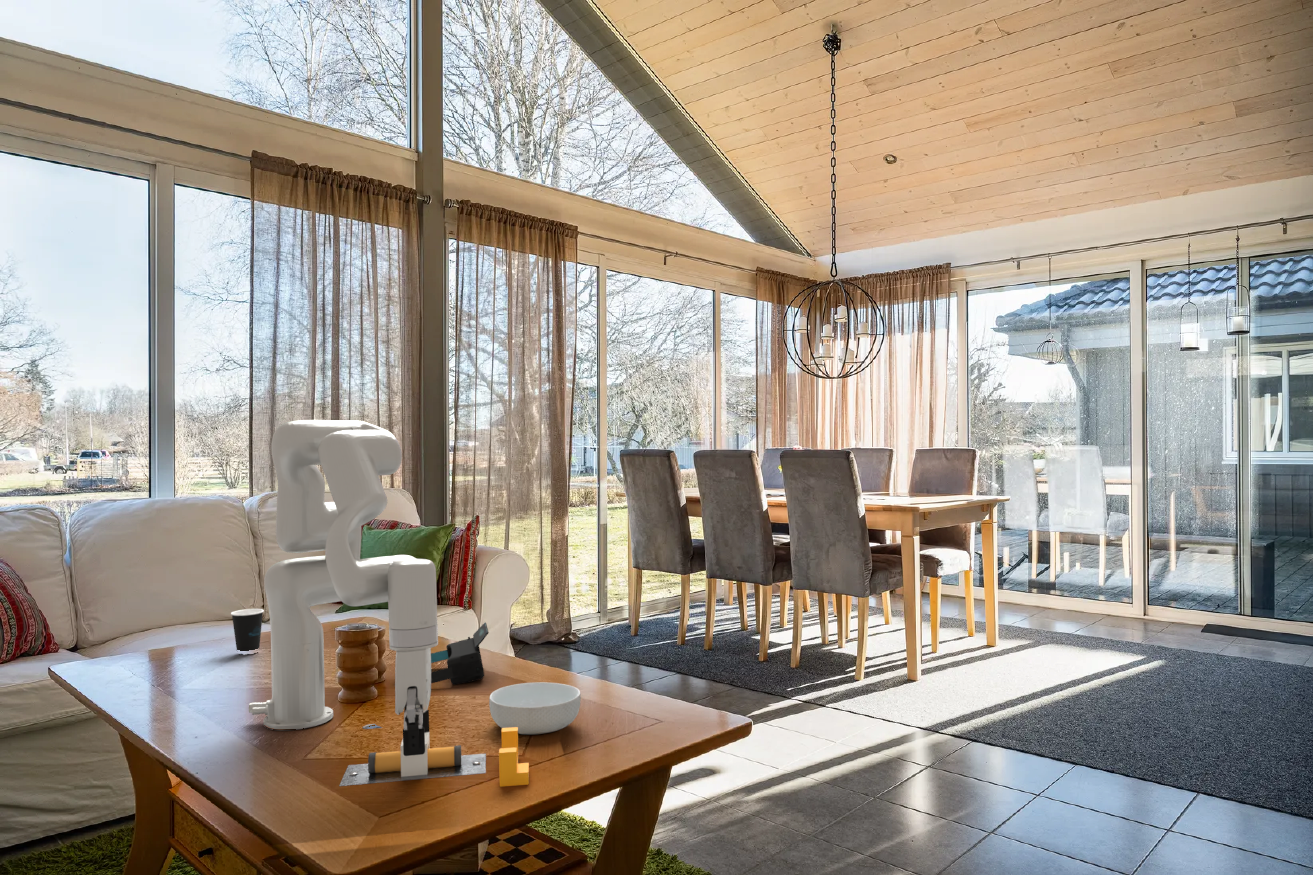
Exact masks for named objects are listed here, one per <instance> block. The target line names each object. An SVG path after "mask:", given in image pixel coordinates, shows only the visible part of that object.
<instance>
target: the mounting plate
mask: <svg viewBox="0 0 1313 875" xmlns="http://www.w3.org/2000/svg"><path fill="white" fill-rule="evenodd" d="M486 761H487V753H475V754H464V755H461V766H450V767H439V768H428V774H427V775H415V776H404V777H401V771H393V772H382V773H370V774H369V772H368V763H359V764H349V765H348V764H347V768H346V770H345V772H344V774H343V776H342V779H341V781H340V782H339V787H346V786H348V787H349V786H353V785H354V786H359V785H368V784H379V783H391V782H402V781H403V782H404V781H412V780H423V779H434V778H435V779H437V778H446V777H458V776H468V775H480V774H481V775H482V774H487V770H486V769H487V766H486V765H487V762H486Z"/></svg>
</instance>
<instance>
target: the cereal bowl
mask: <svg viewBox="0 0 1313 875" xmlns="http://www.w3.org/2000/svg"><path fill="white" fill-rule="evenodd" d="M581 698H582V696H581V691H580V689H579V688H578V687H575V686H573V685H570V684H564V683H558V682H546V681H544V682H543V681H542V682H540V681H539V682H524V683H523V682H522V683H516V684H511V685H507V686H503V687H500V688H498V689H496V690H494V691H492V692H491V693H490V695H489V699H488V700H489V712H490V715H491V718H492V720H493V721H494V722H495V723H496V725H497V726H498V727H500V728H501V729H502V728H510V727H518V735H541V734H548V733H549V734H550V733H553V732H556V731H560V730H562V729H564V728H566V727H568V726H569V725H571V724H572V723H573V722H574V720H575V719H576V718H577V716H578V714H579V711H580V708H581Z"/></svg>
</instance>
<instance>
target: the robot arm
mask: <svg viewBox="0 0 1313 875" xmlns="http://www.w3.org/2000/svg"><path fill="white" fill-rule="evenodd" d="M270 445H271V448H270V450H271V457H272V463H273V465H274V470H275V474H276V478H277V480H276V481H277V496H276V510H275V511H276V513H275V514H276V515H275V516H276V517H275V540H276V544H277V546H278V548H279V549H280V550H281V551H283V552H285V553H290V554H291V553H292V554H293V553H294V554H299V553H300V554H301V553H303V554H304V553H313V552H321V551H323V552H324V553H325V555H318V556H305V557H296V558H289V559H283V560H281V561H278V562H275V563H274V564H272V565H271V566H270V567H269V568H268V569H267V570H266V572H265V575H264V580H263V581H264V586H263V587H264V592H265V595H266V600H267V605H268V606H267V607H268V611H269V612H268V614H269V623H270V624H269V625H270V656H271V657H270V658H271V659H270V660H271V661H270V663H271V664H270V666H271V699H267V700H266V701H264V702H260V701H258V702H257V701H256V702H249V704H248V713H250V714H251V715H253V716H254V715H255V716H256V715H263V714H264V715H265V717H264V718H263V726H264V725H266V726H268V727H270V728H274V729H296V730H302V729H303V728H304V729H308V728H313V727H316V726H319V725H323V724H324V723H325V724H326V723H327V722H329V721H330V720H332V719H333V717H334V710H333V709H332V708H331V707H330V706H325V703H326V702H325V699H326V698H325V656H324V655H325V653H324V652H325V650H324V649H325V646H324V644H325V643H324V628H323V624H322V623H321V621H320V619H319V618H318V617H317V616H316V615H315V614H314V613H313V612H312V609H311V607H313V606H317V605H323V604H324V605H325V604H329V603H330V604H331V603H337V602H342V603H343V604H345V605H346V606H349V607H361V606H370V605H373V604H381V603H387V604H388V632H389V633H388V634H389V636H388V637H389V640H388V641H389V642H388V644H389V650H391V651H395V662H394V663H395V665H394V666H395V669H394V672H395V674H394V676H395V677H394V679H395V680H394V682H395V683H394V687H395V690H394V694H395V695H394V696H395V698H394V699H395V703H394V706H395V708H394V712H395V714H396V715H397V716H399V715H401V713H403V729H402V740H403V754H404V756H411V755H421V754H424V753H425V733H426V732H429V733H430V710H429V705H430V701H431V694H432V683H431V672H432V663H431V653H432V651H431V650H432V648H434V647H437V646H438V645H439V632H438V631H439V627H438V625H439V624H438V599H437V598H438V597H437V569H436V568H437V567H436V565H435V563H434V562H433V560H430V559H426V558H416V557H414V556H412V555H408V554H396V555H387V556H385V555H384V556H376V557H366V558H361V547H362V526H364V525H365V524H367V523H368V524H369V523H370V522H371V521H373V520H374V519H376V518H377V517H378V516H380V515H381V514H382V513H383V512H384V511H385V509H386V507H387V505H388V497H387V495H386V494H387V493H386V492H385V489H384V487H383V484H382V481H381V478H380V476H391V475H392V474H393V475H394V474H395V473H396V472H398V470H399V469H400V466H401V464H402V459H403V455H402V454H403V453H402V449H401V448H402V447H401V444H400V442H399V441H398V439H397V437H396V436H395V435H394V434H393V433H392V432H391V431H389V430H387V429H386V428H382V427H380V426H377V425H374V424H371V423H369V422H366V421H363V420H341V419H340V420H331V419H329V420H328V419H326V420H325V419H303V420H301V419H298V420H297V419H296V420H290V421H287V422H284V423H282V424H280V425H278V427H277V428H276V429H275V430H274V433H273V435H272V438H271V444H270ZM319 465H320V466H321V469H322V471H323V474H324V475H323V474H322V472H321V471H320V470H319V467H317V466H319ZM324 476H325V478H324ZM325 479H326V482H325ZM326 483H327V485H328V489H329V492H330V494H331V497H332V500H333V501H326V502H325V492H326Z"/></svg>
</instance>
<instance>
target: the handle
mask: <svg viewBox="0 0 1313 875" xmlns="http://www.w3.org/2000/svg"><path fill="white" fill-rule="evenodd" d="M427 751H428V768H439V767H450V766H461V756H462V745H461V744H459V745H454V746H446V747H445V746H444V747H432V748H430V749H427ZM367 760H368V762H367V764H368V772H369V774H370V773H382V772H393V771H401V750H397V751H396V750H395V751H386V752H385V751H383V752H376V751H375V752H369V753H368V758H367Z"/></svg>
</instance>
